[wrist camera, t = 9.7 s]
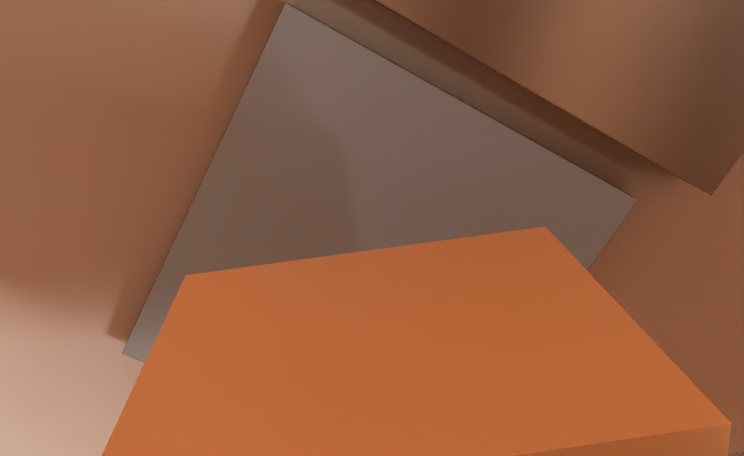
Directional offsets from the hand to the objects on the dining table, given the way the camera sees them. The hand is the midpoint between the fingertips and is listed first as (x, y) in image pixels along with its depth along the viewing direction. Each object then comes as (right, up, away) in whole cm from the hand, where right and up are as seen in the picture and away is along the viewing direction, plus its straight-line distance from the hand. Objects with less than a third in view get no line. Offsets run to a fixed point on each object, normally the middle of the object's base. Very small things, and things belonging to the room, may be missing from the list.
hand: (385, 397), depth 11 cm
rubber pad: (0, +2, +5) cm, 6 cm away
